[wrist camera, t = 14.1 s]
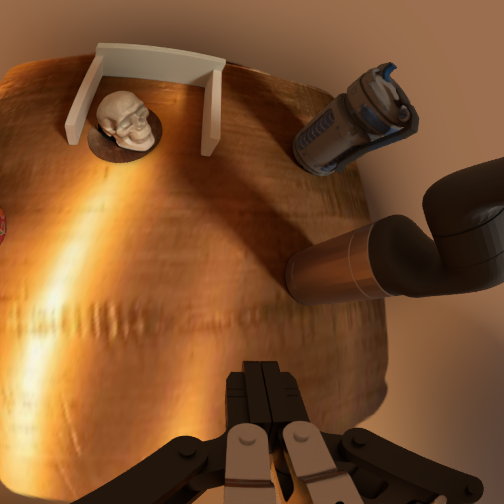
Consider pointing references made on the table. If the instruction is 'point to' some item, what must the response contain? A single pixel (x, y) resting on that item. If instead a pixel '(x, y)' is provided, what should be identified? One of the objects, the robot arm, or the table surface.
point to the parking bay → (156, 68)
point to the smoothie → (2, 225)
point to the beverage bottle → (356, 123)
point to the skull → (124, 129)
